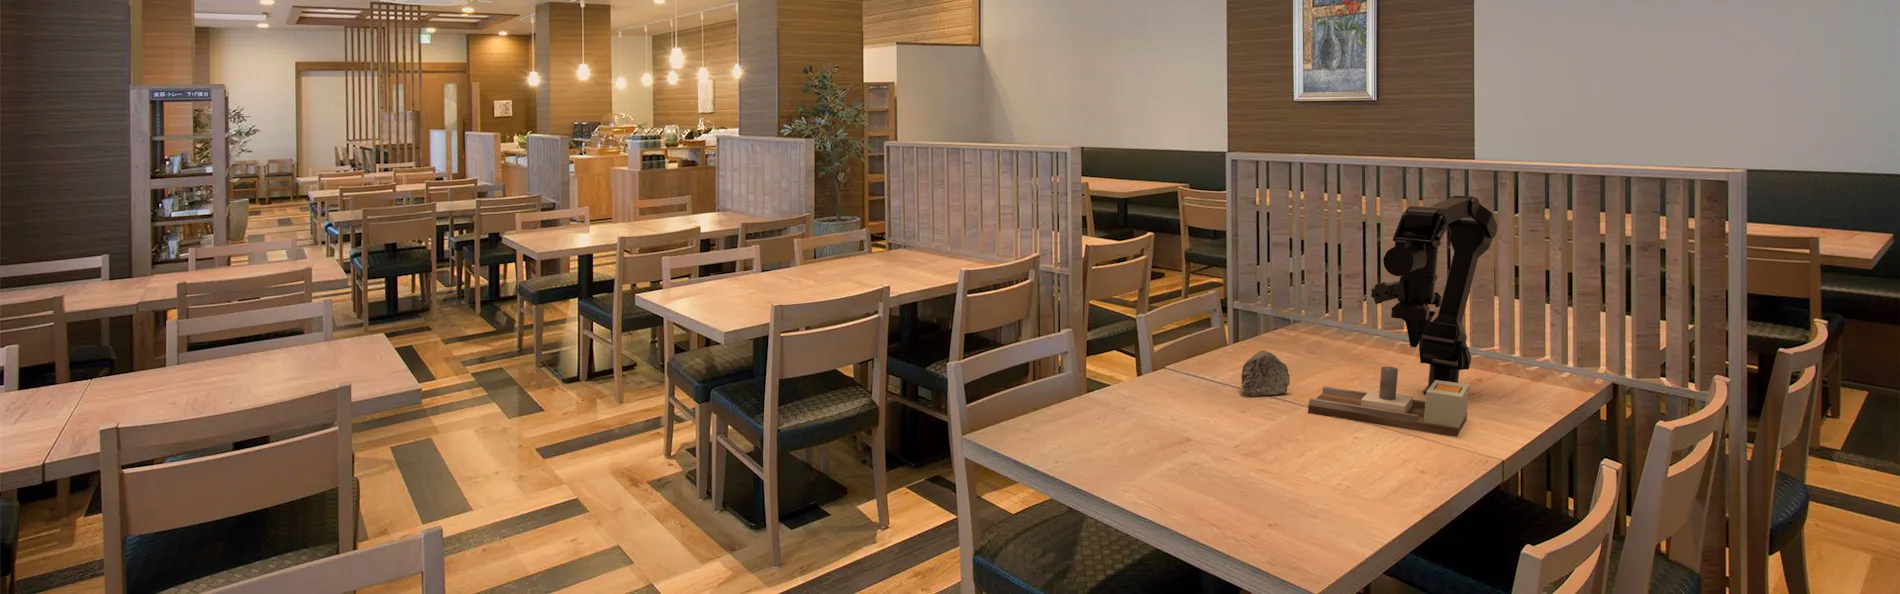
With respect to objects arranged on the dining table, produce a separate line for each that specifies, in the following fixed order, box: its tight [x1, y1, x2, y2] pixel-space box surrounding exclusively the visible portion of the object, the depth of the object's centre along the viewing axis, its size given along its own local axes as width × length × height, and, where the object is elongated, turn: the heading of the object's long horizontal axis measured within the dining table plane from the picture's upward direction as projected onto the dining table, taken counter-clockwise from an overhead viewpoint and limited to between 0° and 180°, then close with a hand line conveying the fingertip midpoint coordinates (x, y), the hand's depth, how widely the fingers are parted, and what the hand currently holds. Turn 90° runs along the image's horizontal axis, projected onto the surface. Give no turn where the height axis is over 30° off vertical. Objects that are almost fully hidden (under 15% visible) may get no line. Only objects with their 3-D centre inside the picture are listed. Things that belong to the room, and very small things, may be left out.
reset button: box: [1435, 384, 1461, 393], centre depth 186 cm, size 4×4×5 cm
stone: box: [1240, 350, 1291, 397], centre depth 210 cm, size 10×10×10 cm
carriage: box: [1361, 366, 1414, 413], centre depth 192 cm, size 8×8×8 cm
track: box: [1307, 385, 1468, 438], centre depth 193 cm, size 12×27×3 cm, turn 55°
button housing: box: [1424, 380, 1470, 428], centre depth 186 cm, size 10×6×6 cm, turn 145°
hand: (1413, 346), depth 196 cm, fingers closed
